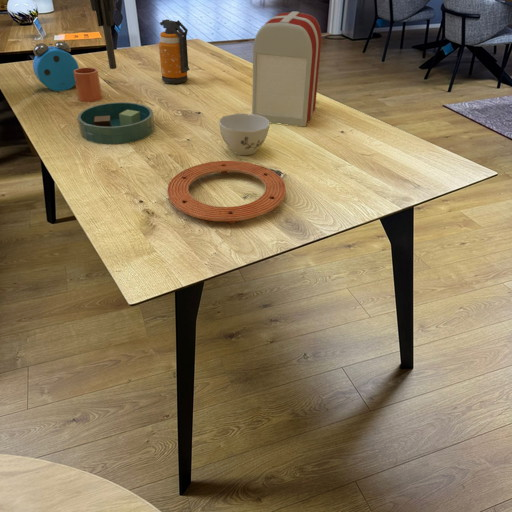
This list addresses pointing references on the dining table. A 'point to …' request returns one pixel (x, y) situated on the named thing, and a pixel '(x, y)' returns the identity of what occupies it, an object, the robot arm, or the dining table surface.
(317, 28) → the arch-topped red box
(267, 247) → the dining table surface
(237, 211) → the ring
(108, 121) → the walnut block
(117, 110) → the bowl
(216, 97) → the dining table surface
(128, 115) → the sage block
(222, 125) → the teacup
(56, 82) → the alarm clock
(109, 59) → the stick
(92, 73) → the holder
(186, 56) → the canister
